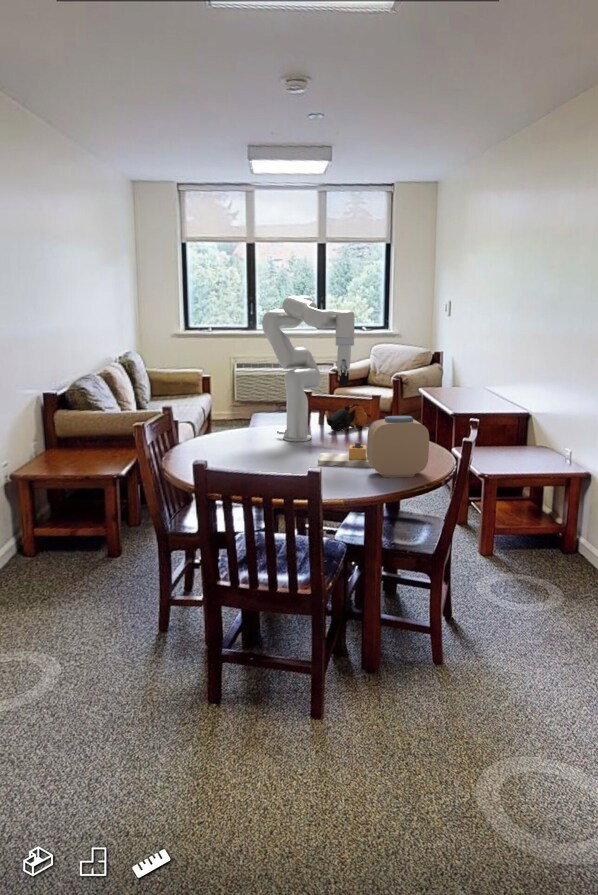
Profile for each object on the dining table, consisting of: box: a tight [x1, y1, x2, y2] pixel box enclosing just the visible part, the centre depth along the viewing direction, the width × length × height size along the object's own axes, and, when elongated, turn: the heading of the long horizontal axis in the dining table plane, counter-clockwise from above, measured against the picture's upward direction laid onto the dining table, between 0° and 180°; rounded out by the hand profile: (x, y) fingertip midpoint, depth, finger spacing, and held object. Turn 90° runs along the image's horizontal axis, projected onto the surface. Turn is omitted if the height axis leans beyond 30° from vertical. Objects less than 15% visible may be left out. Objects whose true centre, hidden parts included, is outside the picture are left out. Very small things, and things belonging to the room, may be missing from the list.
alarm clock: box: [366, 415, 430, 478], centre depth 250 cm, size 21×10×22 cm, turn 98°
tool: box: [326, 403, 368, 432], centre depth 331 cm, size 8×23×15 cm, turn 133°
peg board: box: [317, 441, 373, 468], centre depth 268 cm, size 22×12×8 cm, turn 83°
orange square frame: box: [348, 444, 367, 459], centre depth 268 cm, size 6×6×4 cm
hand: (344, 383), depth 281 cm, fingers open, 9 cm apart
